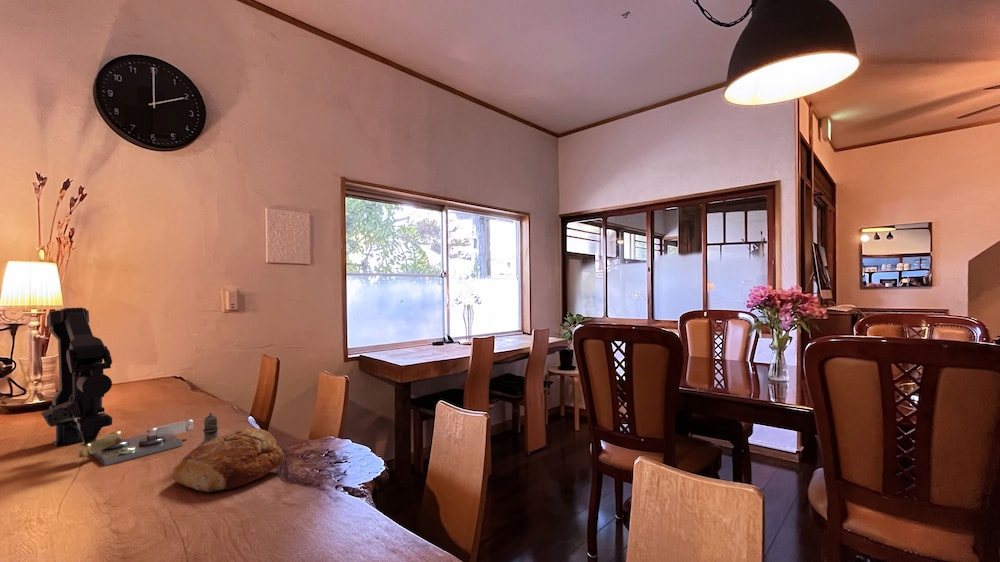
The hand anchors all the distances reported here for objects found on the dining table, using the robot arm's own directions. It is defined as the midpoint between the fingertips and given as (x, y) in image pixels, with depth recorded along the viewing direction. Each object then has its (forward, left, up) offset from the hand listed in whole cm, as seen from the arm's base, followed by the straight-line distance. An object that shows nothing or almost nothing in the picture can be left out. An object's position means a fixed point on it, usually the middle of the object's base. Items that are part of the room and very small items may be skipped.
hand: (88, 447), depth 117 cm
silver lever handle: (+4, +13, -2) cm, 13 cm away
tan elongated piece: (-1, +6, -2) cm, 6 cm away
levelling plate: (+2, +10, -3) cm, 10 cm away
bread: (+42, +17, -4) cm, 45 cm away
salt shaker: (+26, +20, -3) cm, 33 cm away
